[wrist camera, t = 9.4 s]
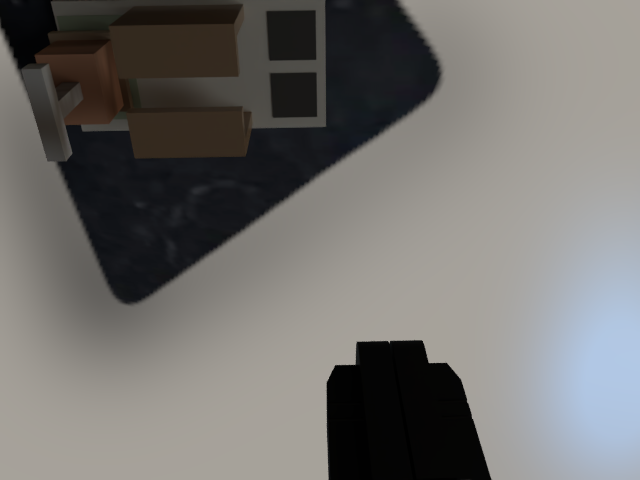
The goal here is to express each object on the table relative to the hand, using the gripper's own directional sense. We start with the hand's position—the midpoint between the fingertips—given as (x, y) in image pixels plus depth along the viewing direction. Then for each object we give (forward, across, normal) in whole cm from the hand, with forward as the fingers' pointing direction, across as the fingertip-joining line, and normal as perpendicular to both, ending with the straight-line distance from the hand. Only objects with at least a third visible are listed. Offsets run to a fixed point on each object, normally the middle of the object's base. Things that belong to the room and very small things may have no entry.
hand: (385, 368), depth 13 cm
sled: (+35, +18, +3) cm, 40 cm away
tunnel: (+37, +10, +3) cm, 39 cm away
